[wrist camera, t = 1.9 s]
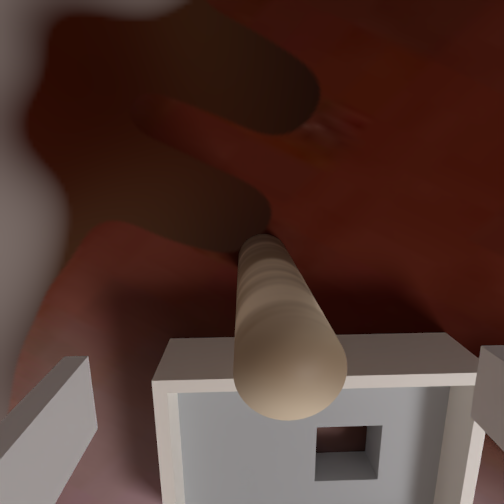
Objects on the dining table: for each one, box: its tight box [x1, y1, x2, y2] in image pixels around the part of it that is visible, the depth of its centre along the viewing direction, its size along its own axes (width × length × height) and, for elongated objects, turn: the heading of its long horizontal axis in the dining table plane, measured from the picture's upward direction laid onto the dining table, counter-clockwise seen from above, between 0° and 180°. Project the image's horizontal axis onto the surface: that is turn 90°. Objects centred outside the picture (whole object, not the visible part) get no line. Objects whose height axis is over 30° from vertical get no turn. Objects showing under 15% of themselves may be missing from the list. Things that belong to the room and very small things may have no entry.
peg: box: [233, 234, 347, 421], centre depth 19 cm, size 4×4×16 cm
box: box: [152, 332, 485, 504], centre depth 28 cm, size 19×24×6 cm
